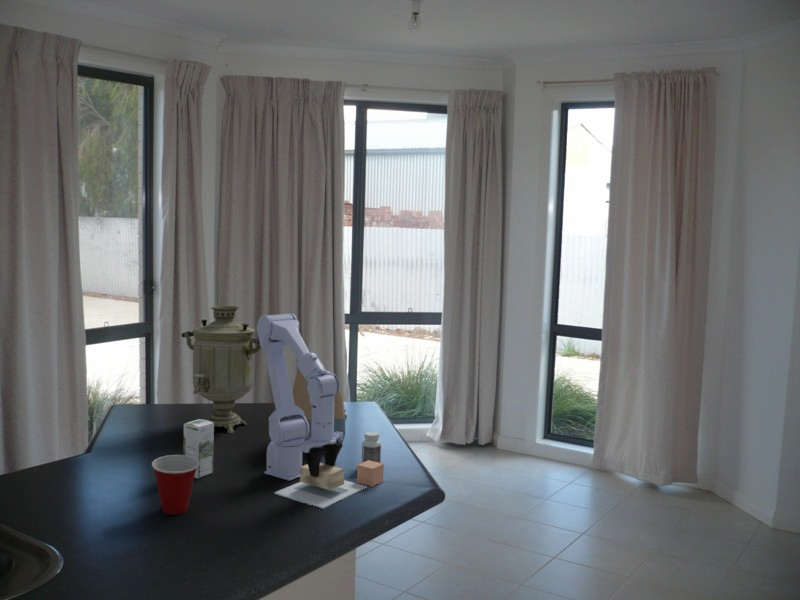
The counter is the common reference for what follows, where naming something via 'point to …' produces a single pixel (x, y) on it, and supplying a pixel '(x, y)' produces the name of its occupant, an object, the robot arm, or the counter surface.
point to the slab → (323, 476)
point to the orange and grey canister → (303, 403)
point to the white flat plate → (319, 493)
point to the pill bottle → (371, 447)
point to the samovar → (223, 363)
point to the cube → (370, 473)
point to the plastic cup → (175, 481)
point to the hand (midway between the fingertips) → (321, 472)
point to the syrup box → (200, 445)
